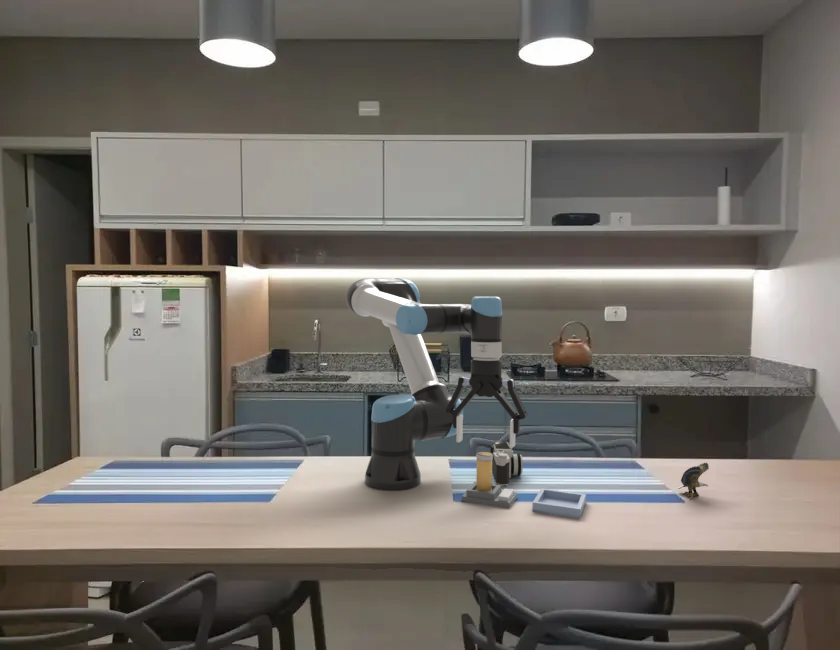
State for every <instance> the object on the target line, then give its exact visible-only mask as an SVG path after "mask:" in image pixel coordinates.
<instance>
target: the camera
mask: <svg viewBox="0 0 840 650" xmlns="http://www.w3.org/2000/svg"><path fill="white" fill-rule="evenodd" d="M489 453H491V454H493V460H492V476H493V478H494V482H495V485H497V484H498V485H501V486H504V485H507V486H509V485H510V479H511V478H512V475H513V476H515V475H516V476H521V475H522V474H523V472H524V471H523V470H524V469H523V467H524V465H523V464H524V463H523V456H522V454H520V453H514V451H513V448H510V443H509V442H508V441H503V442H498V441H497V442H494V444H490V451H489ZM508 484H509V485H508Z"/></svg>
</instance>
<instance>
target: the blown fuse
mask: <svg viewBox="0 0 840 650" xmlns="http://www.w3.org/2000/svg"><path fill="white" fill-rule="evenodd" d="M492 460H493V454H491V452H489V451H488V452H487V451H480V452H477V453H476V482H477V483H476V490H479V491H486V492H492V484H493V472H492Z"/></svg>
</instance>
